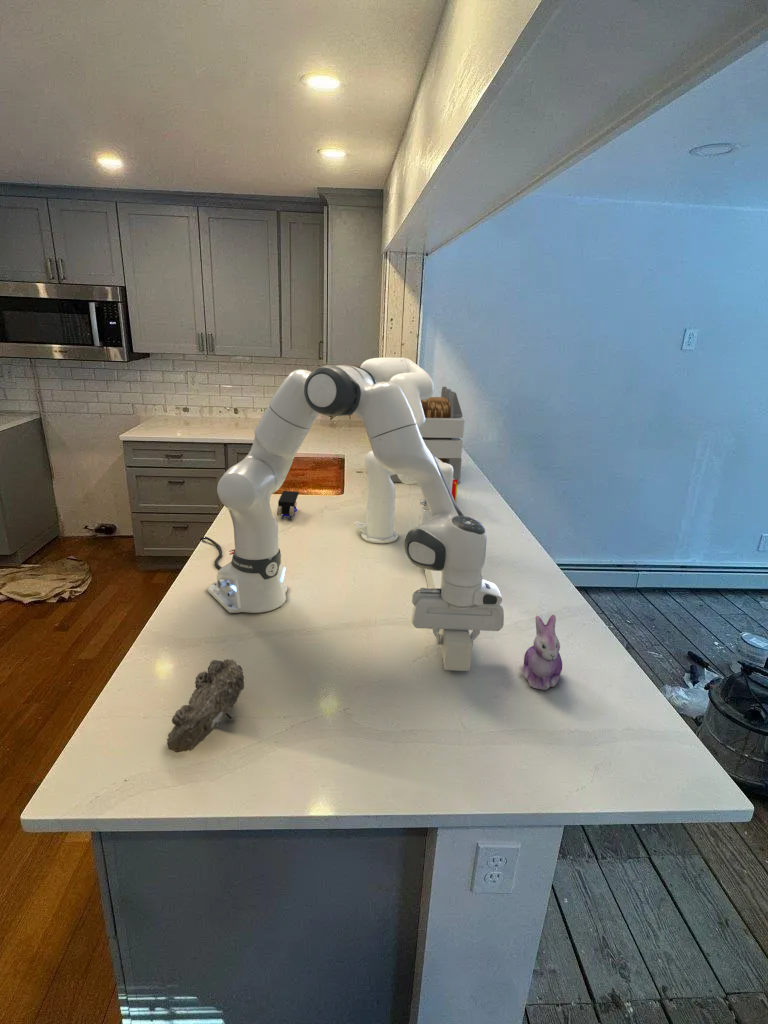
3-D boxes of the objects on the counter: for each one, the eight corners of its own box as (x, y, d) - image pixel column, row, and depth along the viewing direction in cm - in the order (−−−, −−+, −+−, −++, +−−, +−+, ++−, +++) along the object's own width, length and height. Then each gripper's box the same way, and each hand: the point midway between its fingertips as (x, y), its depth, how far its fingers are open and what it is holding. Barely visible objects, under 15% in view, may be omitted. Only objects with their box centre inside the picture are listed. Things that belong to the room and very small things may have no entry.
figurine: (541, 697, 118) (551, 634, 112) (509, 670, 126) (518, 610, 121) (575, 685, 122) (586, 624, 117) (542, 660, 130) (551, 602, 125)
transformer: (382, 463, 289) (386, 382, 275) (445, 464, 293) (451, 384, 279) (390, 482, 257) (394, 392, 243) (460, 483, 261) (468, 394, 247)
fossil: (192, 660, 117) (244, 628, 112) (224, 691, 120) (276, 661, 115) (142, 746, 98) (202, 712, 93) (182, 779, 101) (242, 748, 96)
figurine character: (294, 525, 207) (299, 507, 220) (294, 506, 203) (299, 489, 217) (276, 524, 206) (282, 506, 220) (275, 506, 203) (281, 489, 216)
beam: (421, 556, 180) (423, 536, 177) (438, 556, 180) (440, 536, 178) (444, 670, 123) (447, 643, 121) (469, 670, 124) (472, 643, 121)
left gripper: (414, 594, 120) (409, 650, 125) (509, 598, 121) (501, 653, 126) (412, 581, 126) (407, 634, 131) (503, 584, 127) (495, 637, 132)
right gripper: (409, 507, 163) (405, 564, 170) (468, 510, 164) (462, 566, 170) (407, 499, 170) (404, 554, 177) (464, 501, 171) (458, 556, 177)
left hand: (454, 643), depth 128 cm, fingers closed on beam, 5 cm apart
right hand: (432, 559), depth 173 cm, fingers closed on beam, 5 cm apart
